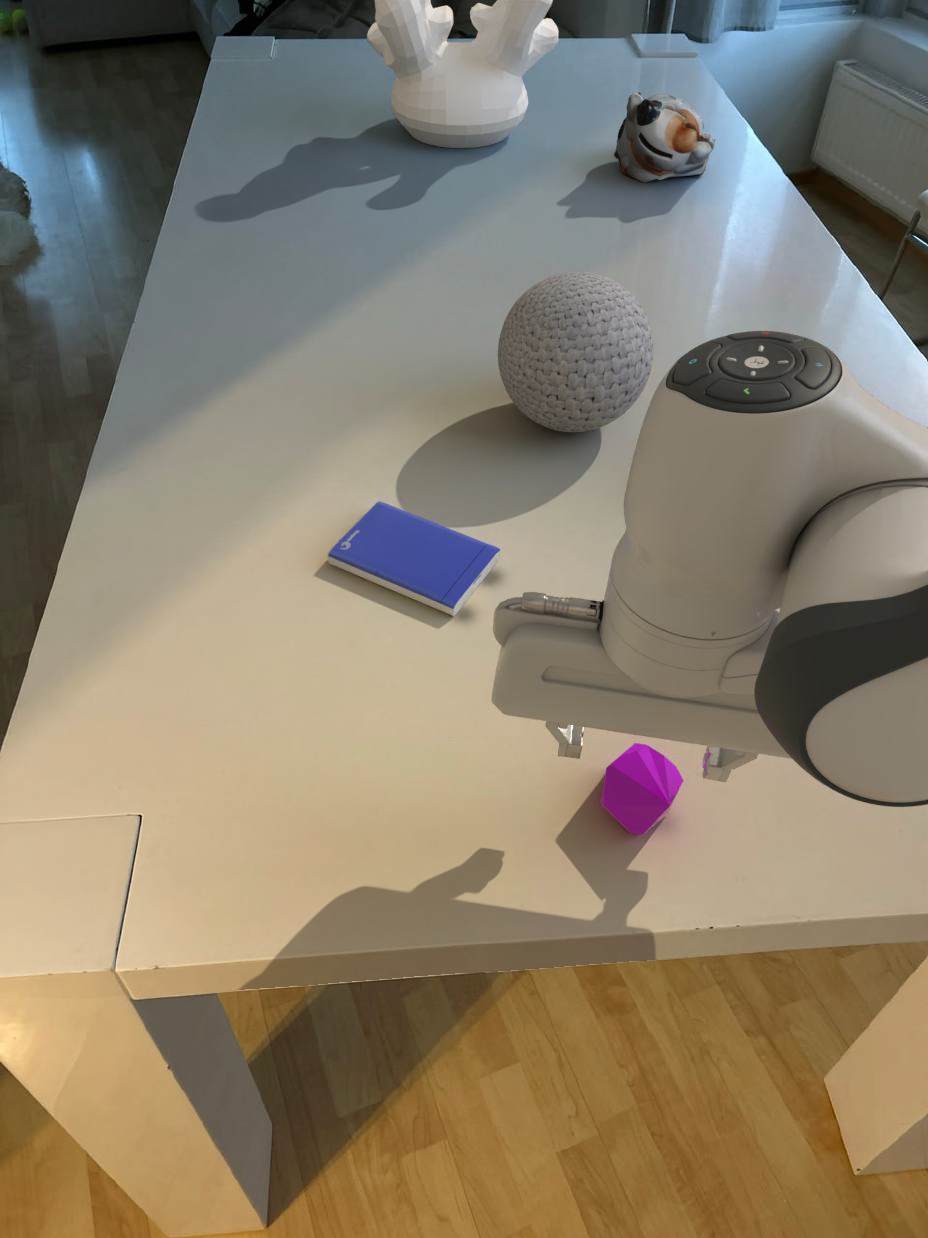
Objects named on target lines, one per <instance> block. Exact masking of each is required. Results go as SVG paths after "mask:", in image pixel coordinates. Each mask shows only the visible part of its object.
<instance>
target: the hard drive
mask: <svg viewBox="0 0 928 1238" xmlns="http://www.w3.org/2000/svg"><path fill="white" fill-rule="evenodd" d="M500 557H501V548H500V547H497V546H496V545H492V544H489V543H486V542H484V541H481V540H479V539H476V538H473V537H471V536H469V535H466V534H464V533H461V532H459V531H456V530H454V529H451V528H449V527H446V526H444V525H441V524H439V523H437V522H434V521H431V520H429V519H426V518H424V517H421V516H418V515H416V514H414V513H411V512H409V511H406V510H404V509H401V508H399V507H396V506H394V505H391V504H388V503H386V502H384V501H381V500H378V501H376V503H374V505H373V506H372V507H371V508H369V510H368V511H367V512H366V513H365V514H364V515H362V517H361V518H360V519H359V520H358V521H357V522H356V523H355V524H354V525H353V526H352V527H351V528H350V529H349V530H348V531H347V532H346V533H345V534H343V536H342V537H341V538H340V539H339V541H337V543H335V544H334V545H333V546H332V547H331V549H330V550H329V552H328V553H327V560H328V563H329V565H331V566H333V567H337V568H339V569H341V570H344V571H346V572H348V573H351V574H353V575H355V576H358V577H359V578H360V577H361V578H362V579H365V580H367V581H370V582H372V583H375V584H377V585H379V586H380V587H381V586H382V587H383V588H387V589H389V590H391V591H393V592H396V593H397V594H400V595H403V596H405V597H408V598H410V599H413V600H414V601H417V602H420V603H422V604H424V605H426V606H429V607H431V608H434V609H436V610H438V611H441V612H443V613H445V614H448V615H450V616H452V617H454V616H455V615H457V614H458V613H459V611H460V610H461V609H462V607H463V606H464V605H465V604H466V602H467V601H468V600H469V599H470V597H471V596H472V595H473V593H474V592H475V591H476V590H477V588H478V587H479V586H480V585H481V583H482V582H483V581H484V580H485V578H486V577H487V576H488V574H489V573H490V572H491V571H492V569H493V568H494V567H495V566H496V564H497V562H498V561H499V559H500Z"/></svg>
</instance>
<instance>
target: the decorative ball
mask: <svg viewBox="0 0 928 1238" xmlns="http://www.w3.org/2000/svg"><path fill="white" fill-rule="evenodd" d="M653 362H654V338H653V332H652V328H651V324H650V321H649V319H648V317H647V314H646V312H645V311H644V309H643V307H642V305H641V303H640V302H639V301H638V300H637V298H636V297H635V296H634V295H633V294H632V293H631V292H630V291H629V290H628V289H627V288H626V287H624V286H623V285H621V284H620V283H618V282H617V281H616V280H614V279H611V278H610V277H607V276H604V275H602V274H598V273H594V272H590V271H569V272H568V271H567V272H562V273H558V274H555V275H552V276H549V277H547V278H544V279H542V280H540V281H538V282H537V283H535V284H534V285H532V286H531V287H530V288H528V289H527V290H526V291H524V292H523V293H522V294H521V296H519V297H518V299H517V300H516V301H515V302H514V303H513V305H512V306H511V308H510V310H509V311H508V313H507V315H506V317H505V320H504V322H503V324H502V326H501V330H500V334H499V338H498V345H497V364H498V365H497V366H498V371H499V376H500V378H501V382H502V384H503V387H504V389H505V391H506V393H507V395H508V396H509V397H510V400H511V401H512V402H513V404H514V405H515V406H516V407H517V408H518V409H519V410H520V411H521V412H522V414H523V415H525V416H526V417H527V418H529V419H530V420H532V421H533V422H535V423H536V424H538V425H541V426H542V427H544V428H547V429H550V430H554V431H558V432H563V433H582V432H588V431H593V430H596V429H597V430H598V429H600V428H602V427H605V426H606V425H608V424H611V423H612V422H614V421H616V420H617V419H619V418H621V416H623V415H624V414H625V413H627V411H628V410H629V409H631V407H632V406H633V405H634V404H635V403H636V401H637V400H638V399H639V397H640V396H641V394H642V393H643V391H644V390H645V387H646V386H647V383H648V381H649V378H650V375H651V371H652V367H653Z"/></svg>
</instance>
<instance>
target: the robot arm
mask: <svg viewBox="0 0 928 1238" xmlns="http://www.w3.org/2000/svg"><path fill="white" fill-rule="evenodd" d="M623 518H624V524H625V531H624V533H623V534H622V536H621V538H620V539H619V541H618V543H617V545H616V547H615V549H614V550H613V554H612V558H611V563H610V568H609V573H608V579H607V583H606V588H605V592H604V596H603V597H604V598H603V600H601V601H600V600H593V599H586V598H581V597H580V598H579V597H562V596H561V597H559V596H554V595H553V596H552V595H547V593H544V592H543V593H542V592H538V591H537V592H536V591H526V592H525V591H524V592H523V593H522V596H515V597H510V598H507V599H504V600H502V601H500V602H499V603H498V605H497V606H496V607H495V609H494V613H493V621H492V633H493V636H494V638H495V640H496V642H497V643H498V644H499V645H500V650H499V655H498V657H497V662H496V663H497V664H496V667H495V673H494V679H493V684H492V685H493V686H492V692H491V697H490V698H491V699H490V700H491V704H493V705H494V707H495V708H497V710H498V711H499V712H500V713H502V714H503V715H505V716H510V717H516V718H523V719H528V720H529V719H530V720H534V721H535V720H536V721H543V722H545V728H546V729H547V730H548V731H549V733H550V734H551V735H552V736H553V738H554V739H555V740H556V742H557V743H558V750H557V757H560V758H561V757H562V758H571V759H576V760H581V755H582V752H583V751H582V750H583V744H584V734H585V728H588V729H593V730H594V729H595V730H602V731H607V732H614V733H622V734H627V735H634V736H641V737H647V738H655V739H661V740H666V741H667V740H668V741H672V742H678V743H679V742H680V743H686V744H693V745H700V746H706V748H705V752H704V754H703V758H702V768H703V770H702V779H705V780H710V781H715V782H721V783H727V782H728V779H729V777H730V775H731V773H732V770H733V771H734V770H736V769H738V768H741V767H742V766H745V765H746V764H748V763H750V762H752V761H755V760H756V759H757V758H758V755H764V756H771V757H777V758H778V757H779V758H785V759H791V760H793V761H794V762H795V763H796V764H797V765H798V766H799V767H800V768H801V769H802V770H803V771H805V773H807V774H808V775H810V776H811V777H812V778H813V779H814V780H816V781H818V782H819V783H821V784H822V785H824V786H826V787H827V788H829V789H831V790H832V791H834V792H836V793H838V794H840V795H843V796H845V797H847V798H849V799H852V800H855V801H857V802H861V803H866V804H869V805H874V806H880V807H892V808H910V807H920V806H926V805H928V426H926V425H924V424H922V423H920V422H917V421H915V420H913V419H911V418H909V417H908V416H906V415H904V414H902V413H900V412H899V411H897V410H895V409H894V408H892V407H890V406H889V405H888V404H886V403H884V402H883V401H881V400H880V399H879V398H877V397H876V396H875V395H873V394H872V393H870V392H869V391H868V390H867V389H866V388H865V387H864V386H862V385H861V384H860V382H859V381H858V380H857V379H856V378H855V377H854V375H853V374H852V372H851V371H850V369H849V368H848V367H847V365H846V364H845V362H844V361H843V359H842V358H841V357H840V356H839V355H838V354H837V353H836V352H835V351H833V350H832V349H831V348H829V347H828V346H826V345H824V344H822V343H820V342H818V341H816V340H813V339H811V338H808V337H806V336H805V337H804V336H801V335H796V334H793V333H790V332H782V331H772V330H750V331H740V332H734V333H730V334H728V335H724V336H720V337H716V338H713V339H711V340H708V341H705V342H703V343H701V344H699V345H697V346H695V347H694V348H692V349H691V350H689V351H687V352H686V353H685V354H684V355H682V356H681V357H680V358H679V359H677V361H675V362H674V364H673V365H672V366H671V367H670V368H669V369H668V370H667V372H666V373H665V374H664V376H663V377H662V379H661V380H660V382H659V384H658V385H657V387H656V389H655V391H654V393H653V395H652V398H651V399H650V401H649V405H648V407H647V410H646V412H645V415H644V418H643V422H642V425H641V428H640V431H639V434H638V438H637V442H636V444H635V449H634V451H633V455H632V460H631V465H630V468H629V472H628V477H627V482H626V486H625V492H624V498H623Z"/></svg>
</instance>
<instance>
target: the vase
mask: <svg viewBox="0 0 928 1238" xmlns="http://www.w3.org/2000/svg"><path fill="white" fill-rule="evenodd" d="M553 1H554V0H496V1H495V2H494V3H493V4H492V6H490V5H487V4H484V3H481V2H477V3H476V4H475V5H474V6H471V7H470V11H469V18H470V20H471V24H472V25H473V27H474V28H475V30H477V33H476V37H475V38H474V39H473V40H472V41H448V37H449V36H450V33H451V31H452V28H453V26H454V12H453V9H452V8H451V7H450V6H449V5H442V6H438V7H433V5H432V3H431V2H432V1H431V0H374V8H375V15H374V20H375V21H374V22H373V23H372V24H371V26H370V28H368V31H367V34H366V42H367V43H368V44H369V46H371V48H372V49H373V50H374V51H375V52H376V53H377V54H378V55H379V56H381V57H382V58H383V60H384V64H385V66H387V67H388V68H389V69H391V70H392V71H393V73H394V74H395V76H396V77H395V80H394V82H393V85H392V91H391V99H390V100H391V102H390V106H391V107H390V108H391V109H392V112H393V115H394V116H395V118H396V119H397V120H398V122H399V123H400V124H401V125H402V126H403V127H404V128H405V130H406V131H407V132H408V133H409V135H411V137H412V138H413V139H415V140H417V141H419V142H420V143H422V144H423V143H424V144H426V145H430V146H435V147H440V148H448V149H473V148H482V147H489V146H491V145H494V144H497V143H500V142H502V141H504V140H505V139H506V138H507V137H508V136H509V135H510V134H511V133H512V132H513V131H514V130H515V129H516V128H517V127H518V126H519V124H521V122H523V120H524V118H525V114H526V111H527V110H528V106H529V98H528V91H527V89H526V86H525V83H524V80H523V77H524V75H525V74H526V73H527V71H528V70H529V69H530V68H532V67H533V66H534V65H535V64H536V63H538V61H539V60H540V59H541V58H543V57H544V56H546V54H548V53H549V52H551V51H552V50H553V49H555V47H556V45H557V44H558V43H559V27H558V26H557V24H556V23H555V21H554V20H553V19H552V18H548V17H546V16H547V13H548V12H549V10H550V8H551V7H552V5H553ZM545 17H546V18H545Z"/></svg>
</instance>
